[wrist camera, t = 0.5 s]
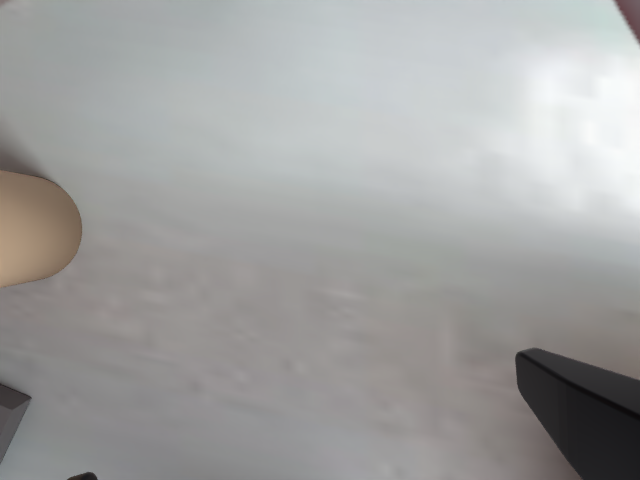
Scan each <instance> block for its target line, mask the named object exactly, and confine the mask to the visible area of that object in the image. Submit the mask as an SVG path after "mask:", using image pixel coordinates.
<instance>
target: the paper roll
mask: <svg viewBox="0 0 640 480" xmlns="http://www.w3.org/2000/svg"><path fill="white" fill-rule="evenodd" d="M81 236H82V223H81V218H80V214H79V211H78V209H77V207H76V205H75V203H74V201H73V200H72V199H71V197H70V196H69V195H68V194H67V193H66V192H65V191H64V190H63V189H62V188H61V187H59V186H58V185H56V184H54V183H53V182H51V181H48V180H46V179H43V178H40V177H35V176H30V175H24V174H19V173H14V172H8V171H3V170H0V288H2V287H7V286H12V285H17V284H22V283H26V282H31V281H36V280H41V279H45V278H48V277H50V276H53V275H54V274H56V273H58V272H59V271H61V270H62V269H64V268H65V267H66V266H67V265H68V264H69V263H70V261H71V260H72V259H73V258H74V256H75V254H76V253H77V250H78V248H79V245H80V242H81Z"/></svg>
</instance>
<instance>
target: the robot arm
mask: <svg viewBox="0 0 640 480" xmlns="http://www.w3.org/2000/svg"><path fill="white" fill-rule="evenodd" d="M515 362H516V375H517V385H518V389H519V391H520V393H521V395H522V397H523V398H524V399H525V401H526V402H527V404H528V405H529V407H530V408H531V409H532V411H533V412H534V414H535V415H536V417H537V418H538V420H539V421H540V422H541V424H542V425H543V427H544V428H545V430H546V431H547V432H548V434H549V435H550V437H551V438H552V440H553V441H554V442H555V444H556V445H557V447H558V448H559V450H560V451H561V452H562V454H563V455H564V456H565V458H566V459H567V461H568V462H569V463H570V464H571V466H572V467H573V468H574V469H575V471H576V472H577V473H578V474H579V475H580V477H581V478H582V479H583V480H640V380H638V379H635V378H631V377H628V376H625V375H622V374H619V373H615V372H612V371H609V370H606V369H603V368H599V367H596V366H593V365H590V364H587V363H583V362H580V361H577V360H574V359H571V358H567V357H564V356H561V355H558V354H555V353H551V352H548V351H545V350H542V349H539V348H530V349H527V350H523V351H519V352H518V353H517V354H516V356H515ZM67 480H98V479H97V477H96V475H95V474H94V473H92V472H87V473H83V474H80V475H76V476H73V477H70V478H69V479H67Z"/></svg>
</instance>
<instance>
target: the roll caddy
mask: <svg viewBox="0 0 640 480" xmlns="http://www.w3.org/2000/svg"><path fill="white" fill-rule="evenodd" d="M30 400H31V397H29V396H26V395H24V394H21V393H19V392H17V391H14V390H12V389H10V388H7V387H5V386H3V385H0V463H1V461H2V459H3V457H4V455H5V453H6V451H7V449H8V447H9V444H10V442H11V440H12V438H13V436H14V434H15V432H16V430H17V428H18V425H19V423H20V421H21V419H22V417H23V415H24V413H25V411H26V409H27V406H28V404H29V402H30Z"/></svg>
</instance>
